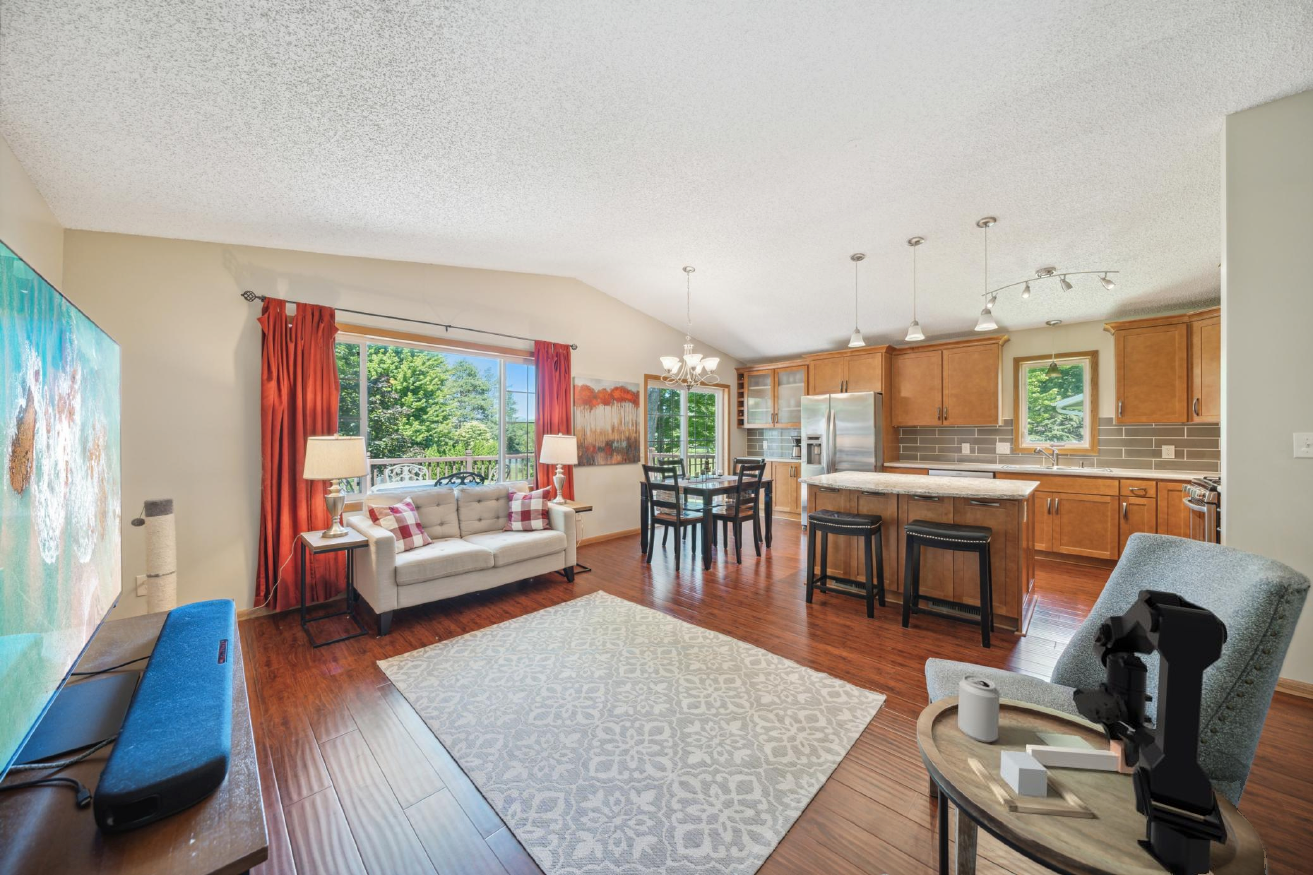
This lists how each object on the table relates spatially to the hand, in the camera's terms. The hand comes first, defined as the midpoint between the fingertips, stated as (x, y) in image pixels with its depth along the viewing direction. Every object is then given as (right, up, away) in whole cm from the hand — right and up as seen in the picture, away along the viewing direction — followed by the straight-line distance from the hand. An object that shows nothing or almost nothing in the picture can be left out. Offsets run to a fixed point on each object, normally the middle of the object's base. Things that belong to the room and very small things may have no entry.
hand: (1123, 762), depth 95 cm
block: (-24, -1, -5) cm, 24 cm away
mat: (-4, -2, +7) cm, 8 cm away
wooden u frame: (-24, -1, -5) cm, 24 cm away
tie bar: (-9, -2, +1) cm, 9 cm away
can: (-22, -2, +11) cm, 24 cm away
